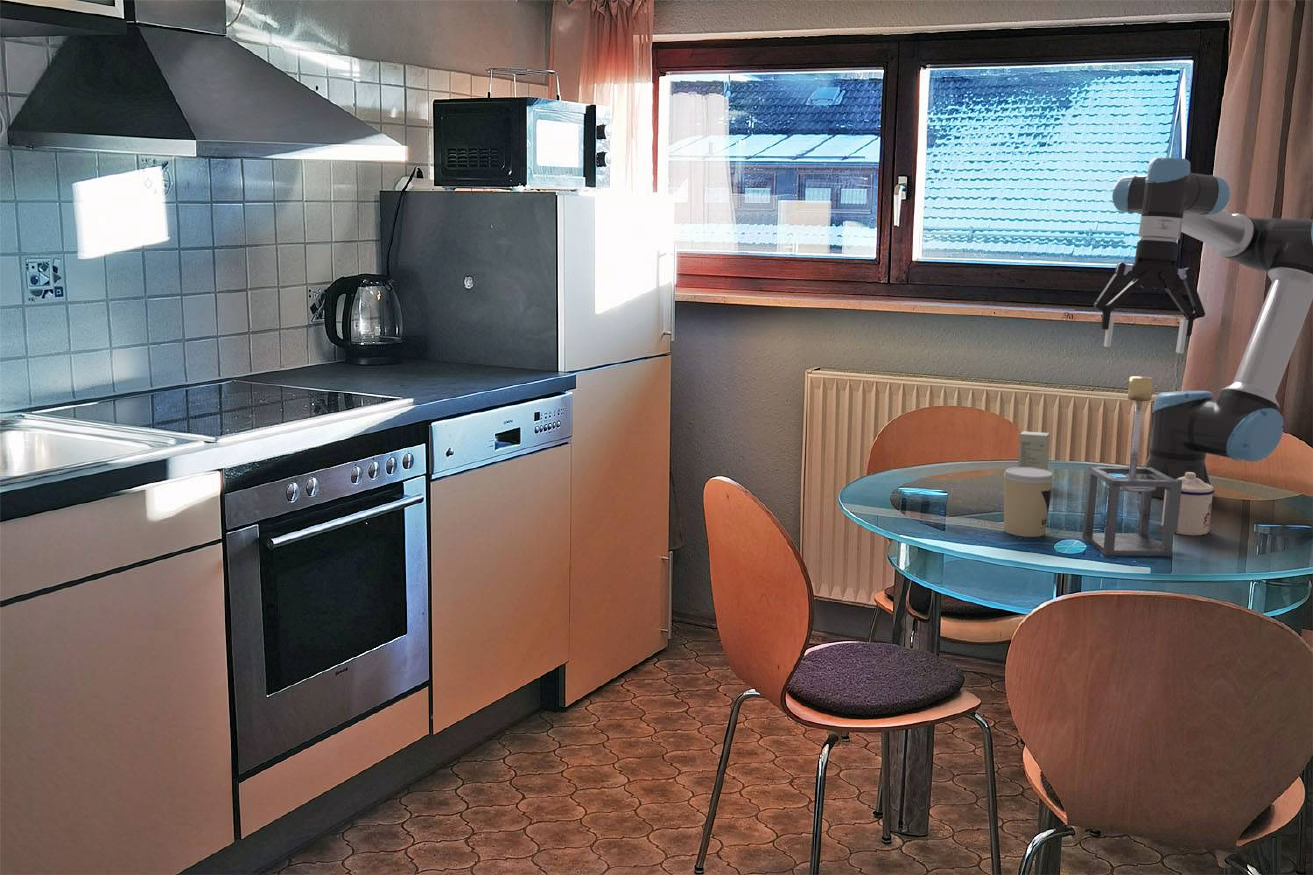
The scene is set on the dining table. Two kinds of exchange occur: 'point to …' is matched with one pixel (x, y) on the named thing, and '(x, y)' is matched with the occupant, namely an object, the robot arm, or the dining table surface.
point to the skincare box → (1033, 450)
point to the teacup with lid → (1193, 506)
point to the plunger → (1137, 425)
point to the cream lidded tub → (1026, 500)
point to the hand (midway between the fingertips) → (1143, 350)
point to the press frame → (1140, 541)
